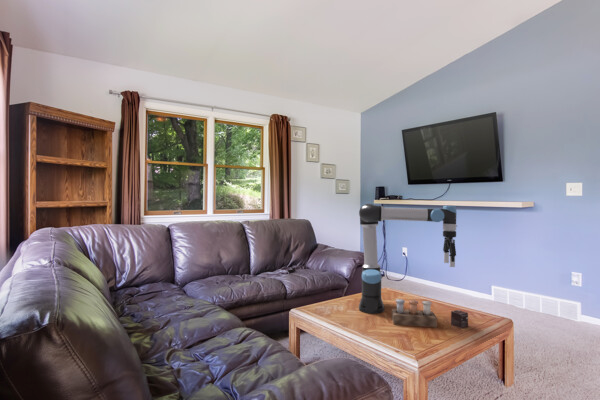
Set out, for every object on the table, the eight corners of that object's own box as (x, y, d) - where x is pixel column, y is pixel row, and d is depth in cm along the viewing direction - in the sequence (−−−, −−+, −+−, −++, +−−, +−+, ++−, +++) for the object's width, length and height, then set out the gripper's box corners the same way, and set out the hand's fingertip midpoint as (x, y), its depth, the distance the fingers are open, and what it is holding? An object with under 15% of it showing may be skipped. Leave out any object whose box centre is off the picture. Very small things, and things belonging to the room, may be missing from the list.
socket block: (393, 324, 178) (393, 315, 178) (391, 317, 189) (391, 308, 189) (436, 327, 174) (436, 317, 174) (432, 320, 185) (432, 311, 185)
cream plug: (423, 316, 178) (423, 302, 178) (421, 314, 183) (421, 300, 183) (432, 317, 177) (432, 303, 177) (430, 314, 182) (430, 300, 182)
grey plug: (396, 315, 181) (396, 301, 181) (395, 312, 185) (395, 298, 185) (405, 315, 180) (405, 301, 180) (403, 312, 185) (404, 299, 185)
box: (460, 328, 172) (460, 314, 173) (450, 324, 178) (450, 311, 178) (468, 326, 175) (468, 312, 175) (458, 323, 181) (458, 309, 181)
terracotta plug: (409, 316, 180) (409, 302, 180) (408, 313, 184) (408, 299, 184) (418, 316, 179) (418, 302, 179) (417, 313, 183) (417, 300, 183)
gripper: (462, 232, 193) (461, 269, 192) (450, 229, 217) (450, 261, 217) (448, 232, 194) (448, 268, 194) (438, 228, 218) (438, 261, 218)
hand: (449, 264), depth 205 cm, fingers open, 13 cm apart
